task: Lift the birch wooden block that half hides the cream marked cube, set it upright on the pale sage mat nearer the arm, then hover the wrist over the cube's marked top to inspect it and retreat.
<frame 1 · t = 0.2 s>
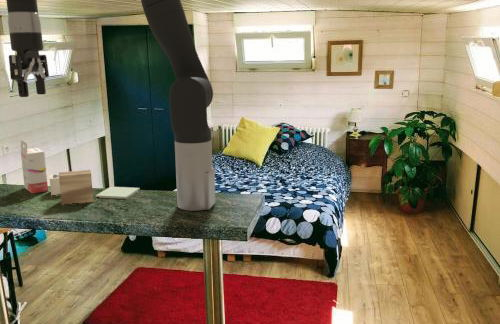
hand: (33, 95, 128), 28 cm above the table, fingers open, 8 cm apart
sage mat: (118, 193, 138), on the table
marked cube: (60, 192, 140), on the table
birch block: (77, 201, 131), on the table
ink cartridge box: (36, 190, 144), on the table
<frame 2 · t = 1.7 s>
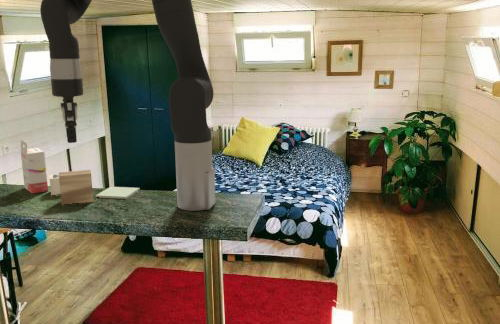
hand: (71, 139, 128), 17 cm above the table, fingers open, 8 cm apart
nothing on the table moved.
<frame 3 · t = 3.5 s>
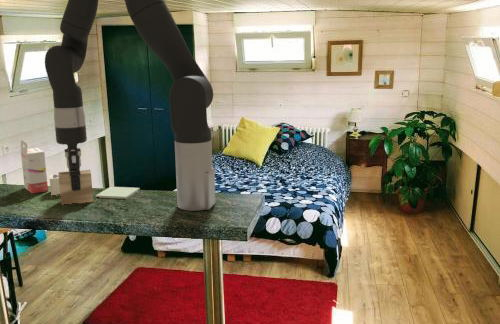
hand: (76, 187, 131), 4 cm above the table, fingers closed on birch block, 4 cm apart
birch block: (77, 201, 131), on the table, touching gripper
everything else where it was.
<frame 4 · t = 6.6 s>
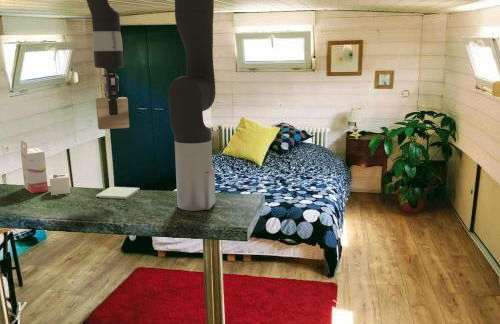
hand: (112, 113, 133), 23 cm above the table, fingers closed on birch block, 4 cm apart
birch block: (113, 127, 134), point 19 cm above the table, touching gripper
everything else where it was.
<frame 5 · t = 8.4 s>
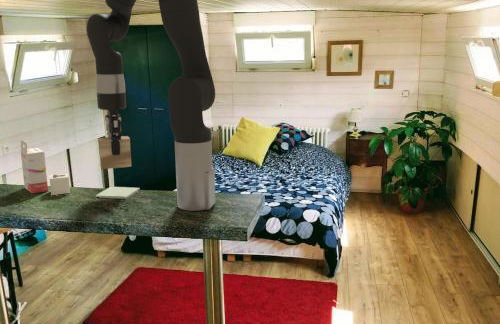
hand: (115, 152, 136), 12 cm above the table, fingers closed on birch block, 4 cm apart
birch block: (115, 166, 137), point 8 cm above the table, touching gripper
everything else where it was.
when the fingers open (6 cm above the table, at t = 10.0 s): birch block drops 1 cm, resting on sage mat.
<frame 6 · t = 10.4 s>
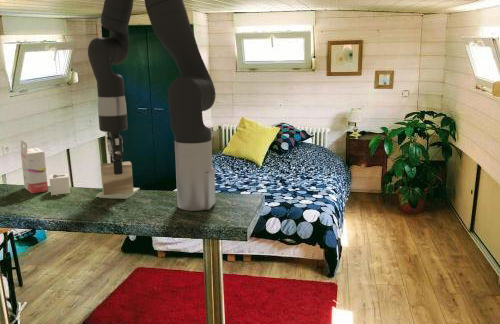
hand: (116, 170, 137), 7 cm above the table, fingers open, 8 cm apart
birch block: (118, 191, 138), point 1 cm above the table, touching sage mat
everything else where it was.
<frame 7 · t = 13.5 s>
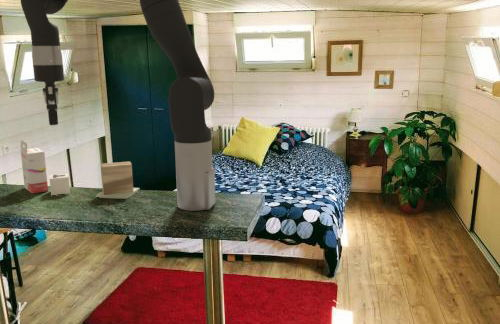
hand: (53, 122, 136), 20 cm above the table, fingers open, 8 cm apart
nothing on the table moved.
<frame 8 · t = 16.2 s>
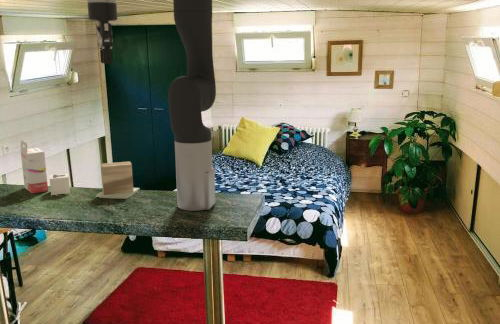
hand: (106, 63, 135), 36 cm above the table, fingers open, 8 cm apart
nothing on the table moved.
at the end: birch block 0.0 cm off-centre on the sage mat, point 0.6 cm above the sage mat's base; birch block tilted 0°; marked cube moved 0.1 cm from its start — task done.
